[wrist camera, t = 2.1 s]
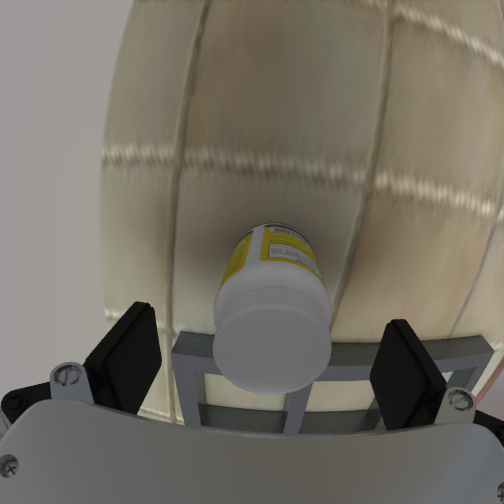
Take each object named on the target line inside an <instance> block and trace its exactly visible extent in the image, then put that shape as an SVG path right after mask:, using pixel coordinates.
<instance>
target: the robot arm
mask: <svg viewBox="0 0 504 504" xmlns="http://www.w3.org/2000/svg"><path fill="white" fill-rule="evenodd" d="M161 364H162V357H161V351H160V345H159V338H158V332H157V325H156V318H155V310H154V308H153V307H151V306H150V304H149V303H144V302H137V301H136V302H134V303H133V305H132V306H131V307H130V308H129V309H128V310H127V311H126V313H125V314H124V315H123V316H122V317H121V318H120V319H119V321H118V322H117V323H116V324H115V325H114V326H113V327H112V329H111V330H110V331H109V332H108V333H107V334H106V336H105V337H104V338H103V339H102V340H101V342H100V343H99V344H98V345H97V346H96V348H95V349H94V350H93V351H92V352H91V354H90V355H89V356H88V357H87V358H86V361H85V363H84V364H83V365H81V364H78V363H75V362H66V363H63V364H60V365H58V366H57V367H55V368H54V369H53V371H52V372H51V374H50V382H46V383H42V384H38V385H33V386H29V387H25V388H21V389H16V390H13V391H10V392H9V393H7V394H6V395H5V396H4V397H3V399H2V401H1V406H0V504H504V421H502V420H499V419H497V418H495V417H492V416H490V415H488V414H485V413H483V412H481V411H478V410H476V399H475V397H474V396H473V394H472V393H471V392H470V391H468V390H466V389H464V388H461V387H452V388H449V389H447V388H446V386H445V385H446V384H447V382H446V380H445V379H444V377H443V376H442V374H441V372H440V371H439V369H438V367H437V366H436V364H435V363H434V361H433V360H432V358H431V356H430V355H429V353H428V352H427V350H426V349H425V347H424V346H423V344H422V343H421V341H420V340H419V338H418V337H417V335H416V334H415V332H414V331H413V329H412V328H411V326H410V325H409V324H408V322H407V321H406V320H405V319H393V320H391V322H390V323H387V325H386V327H385V331H384V334H383V337H382V340H381V343H380V346H379V349H378V352H377V355H376V358H375V361H374V363H373V366H372V369H371V372H370V382H371V385H372V388H373V391H374V394H375V397H376V400H377V403H378V406H379V409H380V412H381V415H382V418H383V421H384V424H385V428H386V431H382V432H374V433H364V434H352V435H335V436H274V435H257V434H245V433H235V432H226V431H218V430H210V429H203V428H197V427H191V426H185V425H180V424H175V423H170V422H165V421H160V420H156V419H151V418H147V417H143V416H139V415H137V413H138V411H139V409H140V407H141V405H142V403H143V401H144V399H145V397H146V395H147V393H148V391H149V389H150V387H151V385H152V383H153V381H154V379H155V377H156V375H157V373H158V371H159V369H160V367H161Z"/></svg>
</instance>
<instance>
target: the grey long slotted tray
mask: <svg viewBox="0 0 504 504" xmlns="http://www.w3.org/2000/svg"><path fill="white" fill-rule="evenodd" d="M213 340H214V335H205V334H197V333H189V332H182V331H181V332H180V335H179V337H178V339H177V341H176V343H175V345H174V347H173V349H172V351H171V357H172V363H173V369H174V375H175V380H176V386H177V391H178V396H179V401H180V405H181V410H182V415H183V419H184V423H185V426H191V427H197V428H203V429H210V430H218V431H226V432H235V433H245V434H257V435H274V436H335V435H352V434H364V433H374V432H382V431H386V428H385V424H384V421H383V418H382V415H381V412H380V409H379V406H378V403H377V400H376V397H375V399H374V401H373V403H372V405H371V407H370V409H369V410H363V411H346V412H305V409H306V406H307V402H308V399H309V395H310V391H311V388H312V384H313V382H312V383H311V384H309V385H308V386H306V387H304V388H301V389H299V390H297V391H293V392H290V393H287V396H286V401H285V406H284V411H283V412H276V411H260V410H247V409H237V408H228V407H219V406H212V405H206V395H205V385H204V375H203V373H209V374H217V375H223V374H222V373H221V372H220V370H219V368H218V367H217V365H216V362H215V360H214V356H213ZM421 343H422V344H423V346H424V347H425V349H426V350H427V352H428V353H429V355H430V356H431V358H432V360H433V361H434V363H435V364H436V366H437V367H438V369H439V371H440V372H441V373H444V372H450V371H454V373H453V375H452V376H451V378H450V380H449V382H448V383H447V385H446V388H447V389H449V388H452V387H461V388H464V389H466V390H468V391H470V392H471V391H472V390H473V388H474V387H475V385H476V383H477V382H478V380H479V378H480V377H481V375H482V373H483V372H484V370H485V368H486V366H487V365H488V363H489V361H490V359H491V357H492V355H493V354H494V352H495V351H494V350H493V348H492V347H491V346H490V345H489V344H488V342H487V341H486V340H485V339H484V338H483V336H473V337H465V338H455V339H444V340H431V341H421ZM331 346H332V348H331V357H330V360H329V363H328V365H327V367H326V369H325V370H324V372H323V373H322V374H321V375H320V376H319V377H318V378H317V379H316V380H315V381H358V380H370V372H371V369H372V366H373V363H374V361H375V358H376V355H377V352H378V349H379V346H380V343H331Z"/></svg>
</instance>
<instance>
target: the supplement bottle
mask: <svg viewBox="0 0 504 504" xmlns="http://www.w3.org/2000/svg"><path fill="white" fill-rule="evenodd" d="M331 315H332V309H331V301H330V297H329V294H328V291H327V288H326V285H325V283H324V280H323V277H322V274H321V272H320V269H319V266H318V264H317V261H316V258H315V256H314V253H313V250H312V248H311V246H310V244H309V242H308V241H307V239H306V238H305V237H304V236H303V235H302V234H301V233H300V232H299V231H297V230H296V229H294V228H292V227H290V226H287V225H284V224H278V223H269V224H263V225H260V226H257V227H255V228H253V229H251V230H250V231H248V232H247V233H245V234H244V235H243V236H242V237H241V238H240V240H239V241H238V243H237V244H236V246H235V248H234V251H233V253H232V256H231V259H230V261H229V264H228V267H227V269H226V272H225V275H224V277H223V280H222V283H221V285H220V288H219V291H218V293H217V296H216V299H215V303H214V322H215V326H216V333H215V336H214V340H213V356H214V360H215V362H216V365H217V367H218V368H219V370H220V372H221V373H222V374H223V375H224V376H225V377H226V378H227V379H228V380H229V381H231V382H232V383H233V384H235V385H236V386H238V387H240V388H242V389H245V390H247V391H251V392H254V393H258V394H267V395H276V394H285V393H290V392H293V391H297V390H299V389H301V388H304V387H306V386H308V385H309V384H311V383H312V382H313V381H315V380H316V379H317V378H318V377H319V376H320V375H321V374H322V373H323V372H324V370H325V369H326V367H327V365H328V363H329V360H330V357H331V348H332V346H331V339H330V334H329V326H330V322H331Z"/></svg>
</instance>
